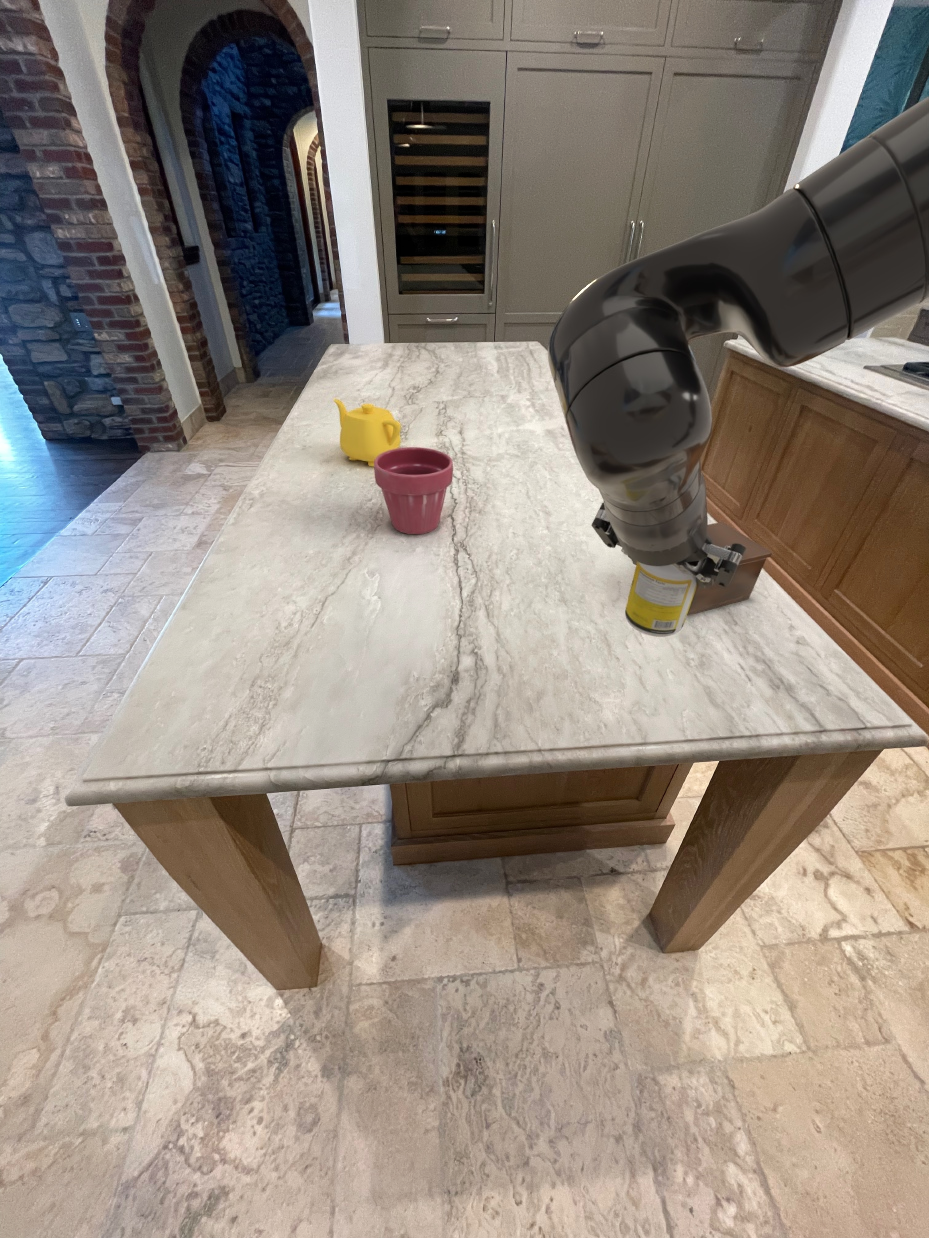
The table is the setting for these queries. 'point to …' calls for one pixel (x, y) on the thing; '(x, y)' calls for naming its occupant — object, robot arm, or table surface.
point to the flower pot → (414, 486)
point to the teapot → (367, 432)
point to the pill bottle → (659, 599)
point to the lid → (728, 535)
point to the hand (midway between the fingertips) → (671, 568)
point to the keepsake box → (728, 589)
